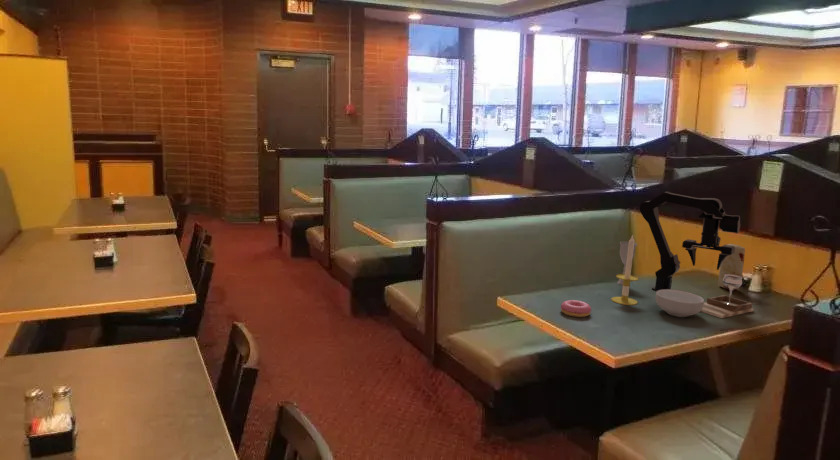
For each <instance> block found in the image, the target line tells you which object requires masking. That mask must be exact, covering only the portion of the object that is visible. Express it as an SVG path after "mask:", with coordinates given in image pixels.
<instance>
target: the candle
mask: <svg viewBox="0 0 840 460" xmlns="http://www.w3.org/2000/svg"><path fill="white" fill-rule="evenodd" d="M635 241H636V240H635V239H634V234H632V235H631V237H630V239H629V240H628V242H629V245H628V253H627V261H626V269H625V274H623V273H621V274H619V273H618V274H616V276H615V277H616V278H617V279H618V280H619V279H621V280H624V281H623V285H622V289H621V296H613V297H611V298H610V300H611V301H612V302H614V303H616V304H618V305H619V304H620V305H623V306H624V305H625V306H636V305H638V301H637V300H636V299H633V298H630V297H629V295H630V294H629V293H630V286H631V285H630V284H631V282H638V281H639V277H638V276H635V275H632V274H631V273H632V267H633V266H632V265H633V259H634V258H633V251H634V243H636V242H635Z"/></svg>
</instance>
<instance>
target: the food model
mask: <svg viewBox="0 0 840 460" xmlns="http://www.w3.org/2000/svg"><path fill="white" fill-rule="evenodd" d="M725 245H730V246H734V247H735V253H733V254H732V255H729V256H726V257H725V259H724V260H723V262H722V264H721V266H720V268H719V272H718V281H717V284H718V286H719V287H720V288H723V289H725V290H729V288H728V287H726V286H725V285H724V283H723V278H724V277H725V276H724V274H735V275H739V276H742V277H743V270H744V263H745V256H746V255H745V253H746V248H745V247H744V246H741V245H738V244H734V243H729V244H728V243H726V244H725ZM738 289H739V287H738V288H737V289H734V290H733V291H737V290H738Z"/></svg>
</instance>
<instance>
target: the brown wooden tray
mask: <svg viewBox="0 0 840 460" xmlns="http://www.w3.org/2000/svg"><path fill="white" fill-rule="evenodd" d="M726 303H729V295H726V294H722V295H719V296H718V295H717V296H712V297H707V298H706V302H704V304H703V308H702V310H701V311H700V312H701V313H705V314H707V315H711V316H713V317H717V318H720V319H725V318H729V317H734V316H739V315H741V314H746V313H750V312H751V313H752V312H754V308H752V307H753V302H750V301H746V300H742V299H739V298H737V297H733V296H731V299H730V304H732V305H729V304H726ZM733 305H734V306H733Z"/></svg>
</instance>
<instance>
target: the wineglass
mask: <svg viewBox="0 0 840 460" xmlns="http://www.w3.org/2000/svg"><path fill="white" fill-rule="evenodd" d="M724 276H725V277H724V278H723V283H724V285H725V286H726V287H728V288H729V289H728V290H729V294H728V296H729V303H726V304H729V305H732V304H730V299H731V297H732V293H733V291H735V290H734V289H737V288H738V289H739V288H740V287H741V286H742V284H743V280H742V279H743V275H742V276H739V275H735V274H724ZM738 289H737V290H738ZM733 306H734V305H733Z"/></svg>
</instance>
